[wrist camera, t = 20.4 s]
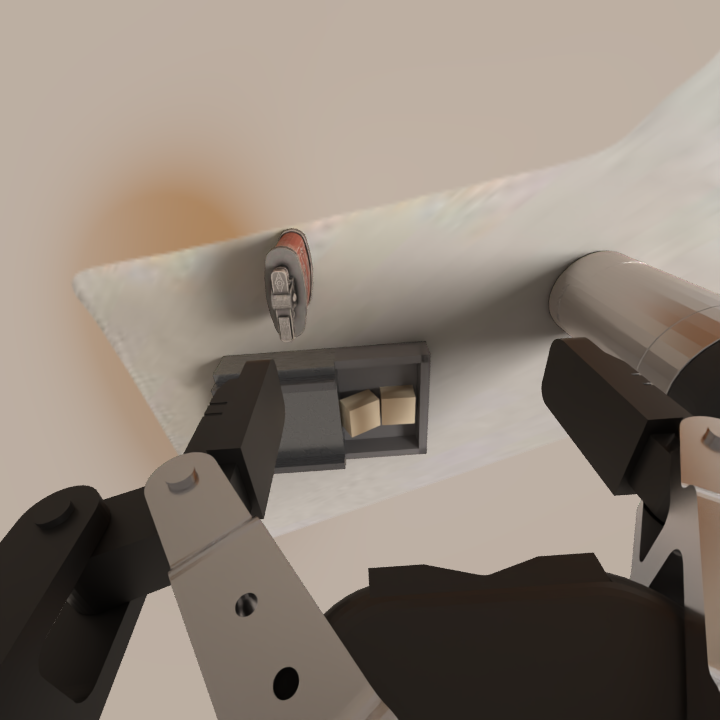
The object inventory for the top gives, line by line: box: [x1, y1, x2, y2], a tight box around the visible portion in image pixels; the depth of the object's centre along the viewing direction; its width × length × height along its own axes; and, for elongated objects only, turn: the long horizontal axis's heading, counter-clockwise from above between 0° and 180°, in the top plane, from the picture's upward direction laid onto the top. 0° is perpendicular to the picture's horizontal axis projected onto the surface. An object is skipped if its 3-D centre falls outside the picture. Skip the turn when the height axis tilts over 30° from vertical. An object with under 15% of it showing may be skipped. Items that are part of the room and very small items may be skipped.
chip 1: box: [340, 389, 380, 437], centre depth 44 cm, size 4×4×2 cm
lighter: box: [265, 228, 313, 342], centre depth 33 cm, size 8×3×10 cm, turn 1°
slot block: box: [211, 348, 346, 474], centre depth 44 cm, size 13×15×6 cm
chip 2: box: [380, 385, 416, 425], centre depth 45 cm, size 4×4×2 cm
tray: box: [334, 341, 430, 459], centre depth 45 cm, size 10×15×3 cm
